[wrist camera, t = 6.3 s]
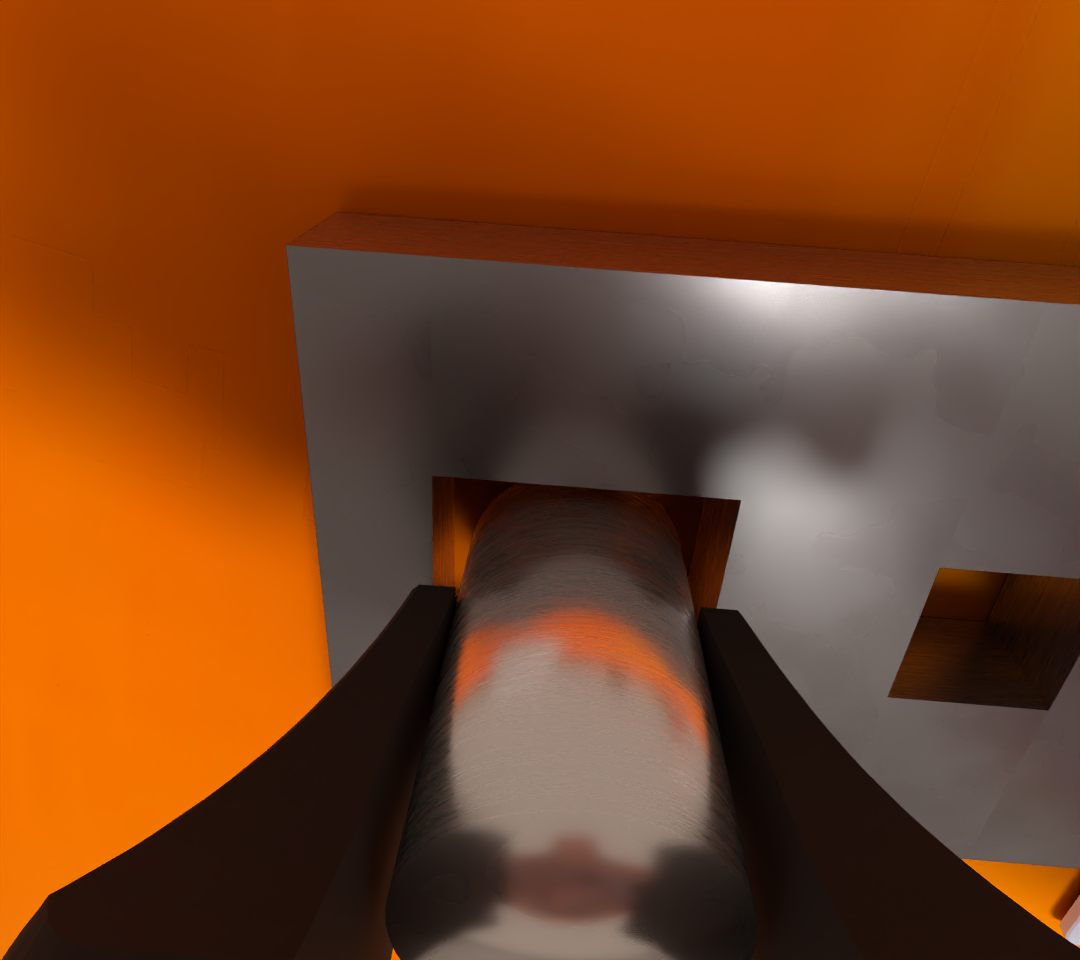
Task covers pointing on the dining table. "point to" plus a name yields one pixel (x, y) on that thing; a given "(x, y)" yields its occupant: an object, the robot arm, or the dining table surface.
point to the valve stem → (572, 752)
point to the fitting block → (739, 466)
